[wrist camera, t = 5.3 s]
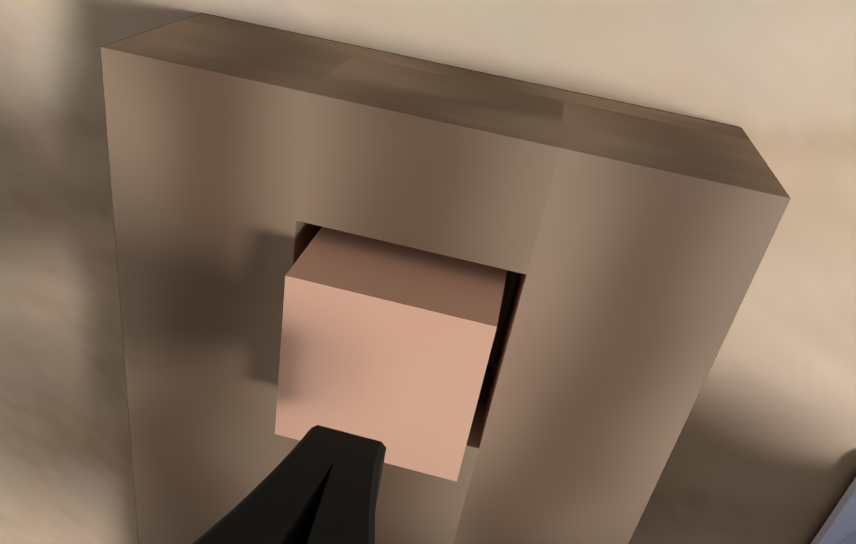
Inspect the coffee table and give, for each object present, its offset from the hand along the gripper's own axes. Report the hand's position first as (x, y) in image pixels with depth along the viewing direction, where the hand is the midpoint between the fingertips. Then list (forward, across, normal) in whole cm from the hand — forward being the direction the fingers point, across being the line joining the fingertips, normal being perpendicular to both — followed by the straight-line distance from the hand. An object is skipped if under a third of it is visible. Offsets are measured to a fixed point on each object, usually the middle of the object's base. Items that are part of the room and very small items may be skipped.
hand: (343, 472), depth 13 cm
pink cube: (+6, 0, 0) cm, 6 cm away
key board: (+9, 0, +10) cm, 13 cm away
